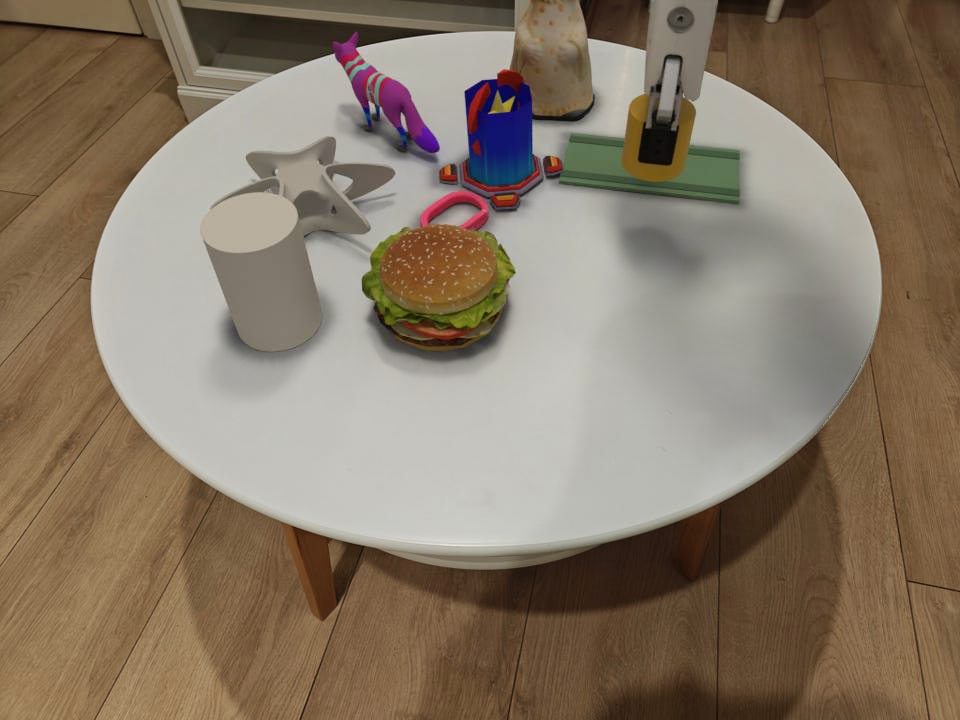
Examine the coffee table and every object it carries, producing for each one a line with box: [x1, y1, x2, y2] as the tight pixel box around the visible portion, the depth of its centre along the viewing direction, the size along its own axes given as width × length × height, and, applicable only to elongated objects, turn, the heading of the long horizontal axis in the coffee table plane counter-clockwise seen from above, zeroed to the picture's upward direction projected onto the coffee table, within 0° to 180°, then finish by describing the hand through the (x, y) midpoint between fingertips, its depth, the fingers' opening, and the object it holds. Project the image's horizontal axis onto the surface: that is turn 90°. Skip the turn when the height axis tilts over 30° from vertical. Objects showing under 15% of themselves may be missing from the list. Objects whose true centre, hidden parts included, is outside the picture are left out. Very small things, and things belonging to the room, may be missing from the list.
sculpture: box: [209, 135, 396, 237], centre depth 82 cm, size 18×20×6 cm
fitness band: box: [419, 190, 490, 231], centre depth 83 cm, size 8×6×2 cm
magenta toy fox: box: [332, 31, 441, 154], centre depth 91 cm, size 4×18×10 cm, turn 45°
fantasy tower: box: [438, 68, 564, 211], centre depth 84 cm, size 12×12×12 cm
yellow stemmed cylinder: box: [622, 93, 697, 182], centre depth 73 cm, size 6×6×8 cm
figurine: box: [509, 0, 596, 122], centre depth 92 cm, size 12×10×20 cm
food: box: [361, 223, 517, 352], centre depth 72 cm, size 14×14×8 cm
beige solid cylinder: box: [199, 192, 323, 353], centre depth 69 cm, size 8×8×12 cm
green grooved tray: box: [558, 132, 741, 204], centre depth 89 cm, size 20×10×1 cm, turn 77°
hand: (657, 140), depth 74 cm, fingers closed on yellow stemmed cylinder, 6 cm apart
